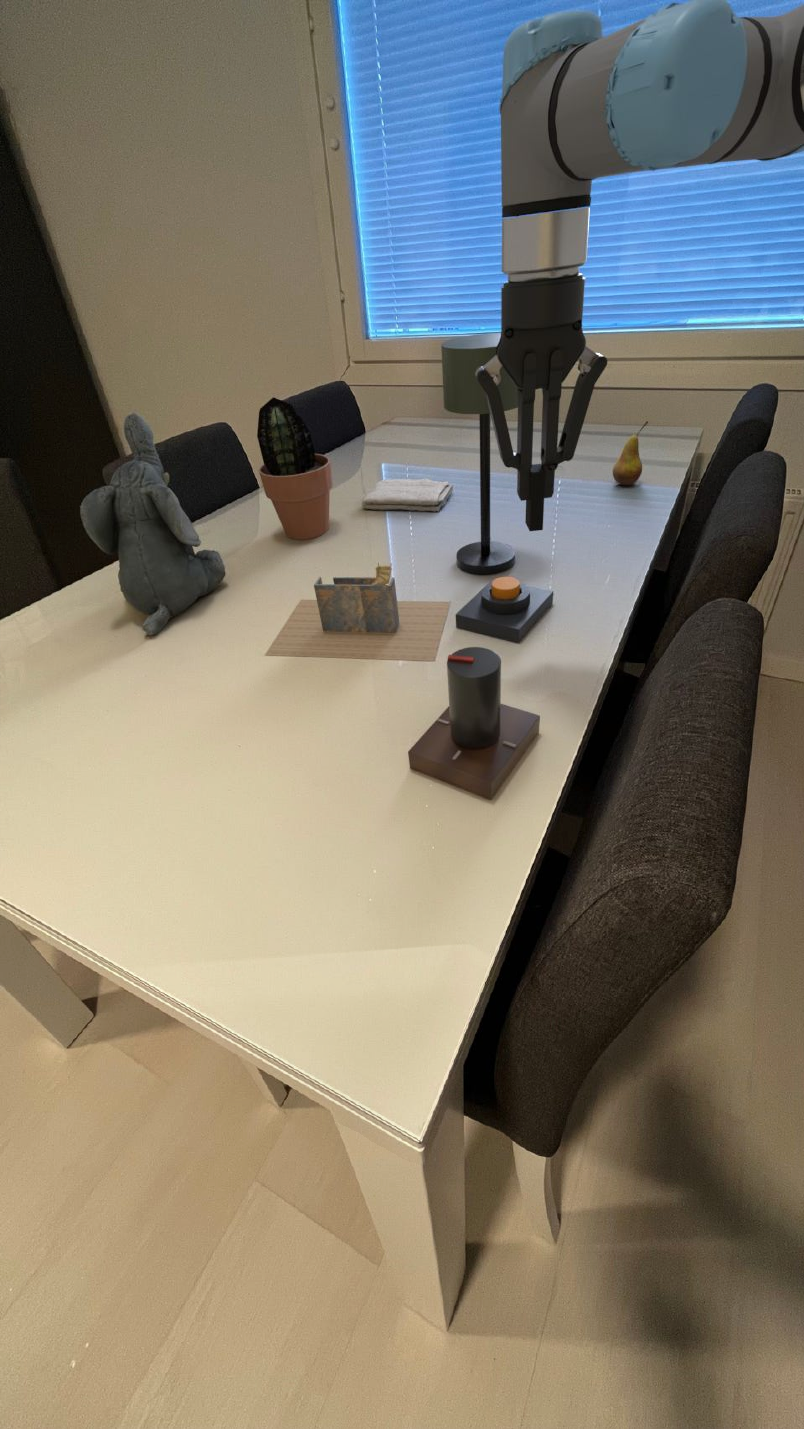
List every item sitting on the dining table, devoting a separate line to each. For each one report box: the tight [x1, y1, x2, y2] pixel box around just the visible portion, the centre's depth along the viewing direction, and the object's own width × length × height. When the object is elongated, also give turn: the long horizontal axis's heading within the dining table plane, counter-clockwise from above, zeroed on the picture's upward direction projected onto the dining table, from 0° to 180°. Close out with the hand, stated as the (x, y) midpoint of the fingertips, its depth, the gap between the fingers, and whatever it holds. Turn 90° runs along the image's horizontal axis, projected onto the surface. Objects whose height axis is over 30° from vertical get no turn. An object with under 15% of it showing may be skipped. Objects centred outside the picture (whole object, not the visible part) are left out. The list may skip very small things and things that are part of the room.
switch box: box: [455, 578, 555, 644], centre depth 88 cm, size 10×12×4 cm
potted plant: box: [256, 396, 334, 540], centre depth 115 cm, size 14×14×25 cm
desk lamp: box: [440, 332, 518, 576], centre depth 94 cm, size 12×12×33 cm
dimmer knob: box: [446, 646, 502, 749], centre depth 63 cm, size 5×5×10 cm
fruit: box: [612, 420, 649, 486], centre depth 123 cm, size 6×6×12 cm
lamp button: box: [491, 576, 521, 599], centre depth 87 cm, size 4×4×2 cm
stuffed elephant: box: [79, 412, 226, 637], centre depth 96 cm, size 19×21×27 cm
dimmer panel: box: [407, 703, 541, 801], centre depth 67 cm, size 10×12×3 cm
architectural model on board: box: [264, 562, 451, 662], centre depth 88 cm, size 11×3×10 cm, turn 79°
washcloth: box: [361, 478, 454, 512], centre depth 129 cm, size 12×18×3 cm, turn 73°
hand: (533, 526), depth 69 cm, fingers closed
